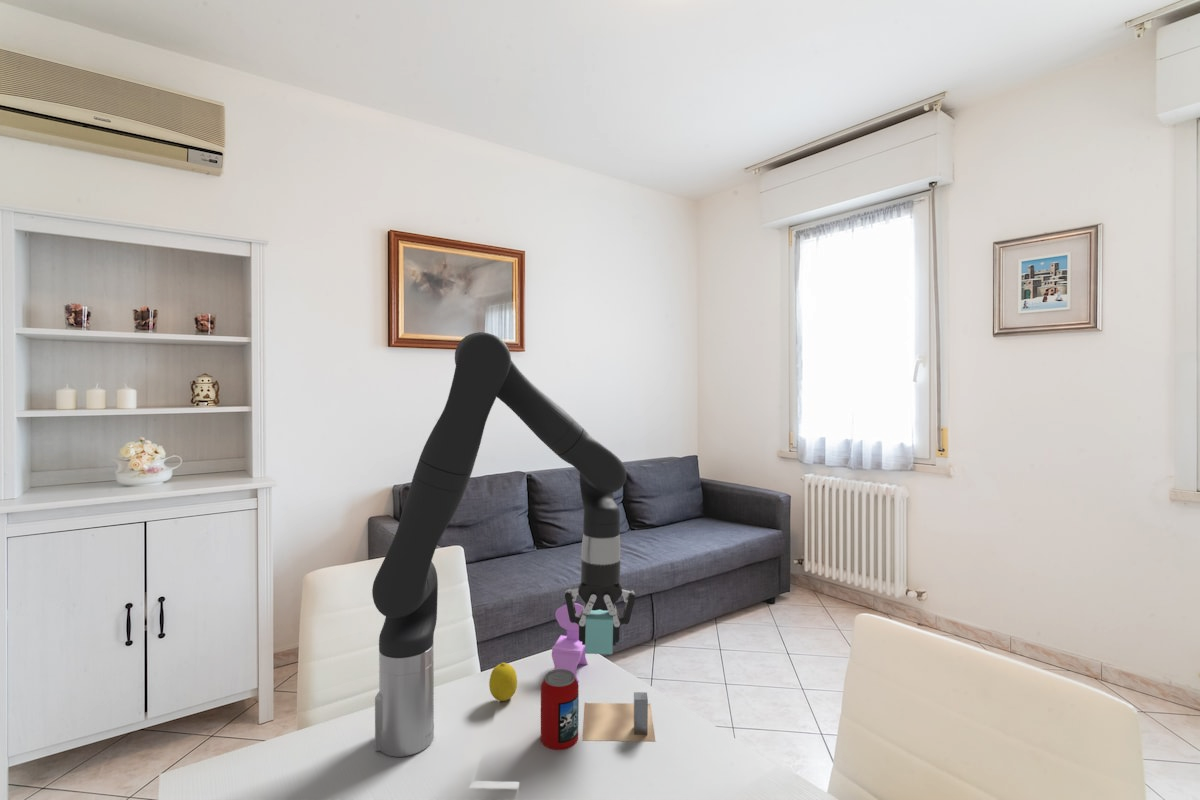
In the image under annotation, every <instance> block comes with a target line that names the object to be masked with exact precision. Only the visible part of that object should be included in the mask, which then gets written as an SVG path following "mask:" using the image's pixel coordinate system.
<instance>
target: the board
mask: <svg viewBox="0 0 1200 800" xmlns="http://www.w3.org/2000/svg"><path fill="white" fill-rule="evenodd" d="M583 710H584V711H583V726H582V728H583V729H582V742H584V741H585V742H589V741H590V742H591V741H593V742H594V741H595V742H656V735H655V728H654V721H653V714H652V705H651V703H648V735H634V702H633V703H626V702H625V703H623V702H622V703H620V702H619V703H618V702H614V703H613V702H612V703H609V702H607V703H606V702H584V709H583Z"/></svg>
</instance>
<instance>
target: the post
mask: <svg viewBox="0 0 1200 800" xmlns="http://www.w3.org/2000/svg"><path fill="white" fill-rule="evenodd" d="M648 697H649V696H648V693H647V692H643V691H641V692H639V691H638V692H637V691H634V692H633V704H634V735H648V704H649V701H648Z"/></svg>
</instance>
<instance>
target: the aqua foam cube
mask: <svg viewBox="0 0 1200 800" xmlns="http://www.w3.org/2000/svg"><path fill="white" fill-rule="evenodd" d="M613 648H614V646H613V617H611V616H610V614H609V611H603V610H591V612H590V615H589V616H586V631H585V655H589V654H590V655H613V652H614V650H613Z"/></svg>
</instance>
